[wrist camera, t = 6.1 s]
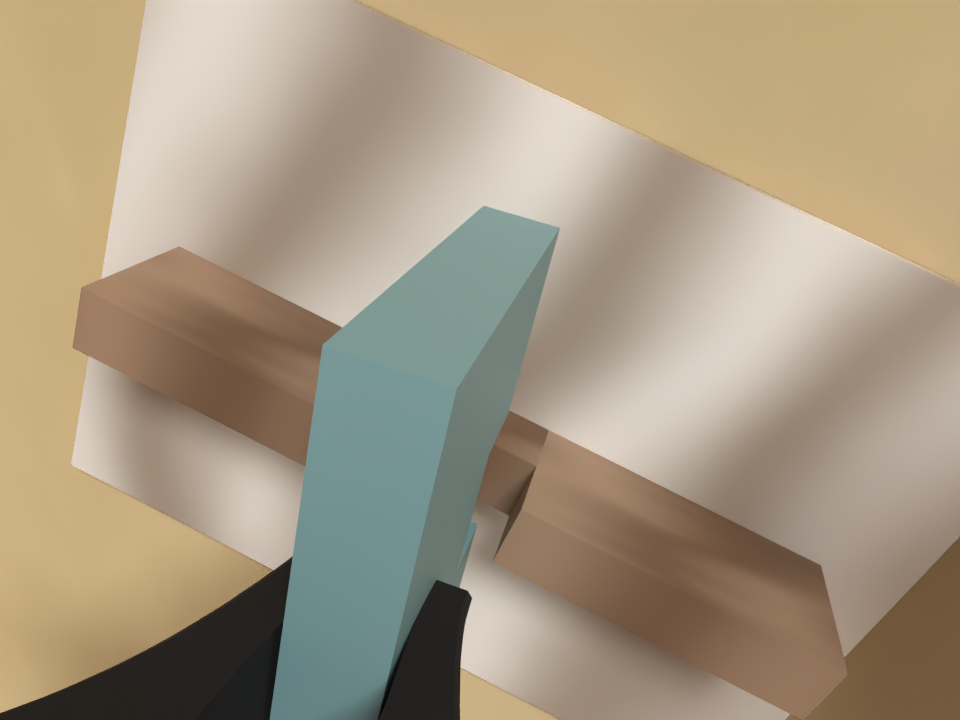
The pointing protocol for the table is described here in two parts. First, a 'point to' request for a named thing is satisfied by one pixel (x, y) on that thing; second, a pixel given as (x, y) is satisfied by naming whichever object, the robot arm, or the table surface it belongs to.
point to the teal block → (402, 459)
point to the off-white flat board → (527, 359)
